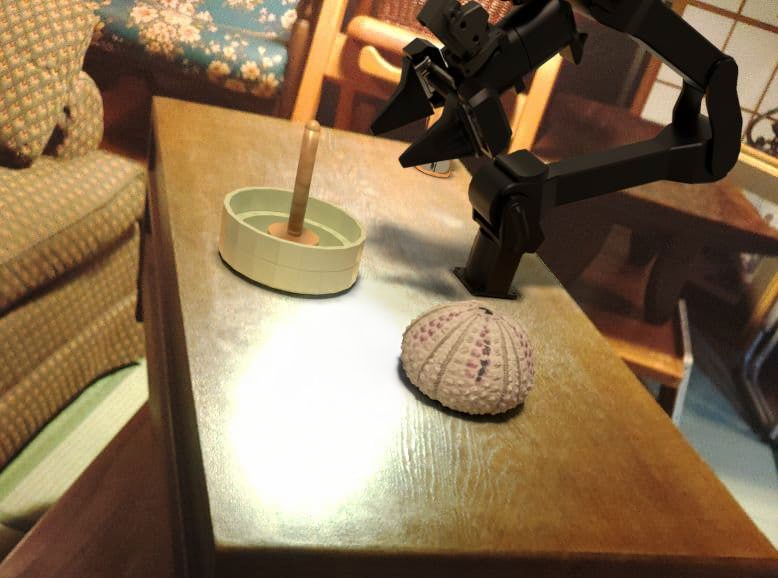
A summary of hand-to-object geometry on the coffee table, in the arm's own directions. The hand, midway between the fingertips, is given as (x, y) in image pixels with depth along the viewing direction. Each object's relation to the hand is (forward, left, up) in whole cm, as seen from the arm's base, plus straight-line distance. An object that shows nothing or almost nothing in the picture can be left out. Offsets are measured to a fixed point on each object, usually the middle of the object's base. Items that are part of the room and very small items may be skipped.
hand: (385, 147), depth 77 cm
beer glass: (+42, -27, -14) cm, 52 cm away
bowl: (0, +8, -14) cm, 16 cm away
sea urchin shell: (-23, -3, -14) cm, 27 cm away
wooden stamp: (0, +8, -13) cm, 15 cm away
